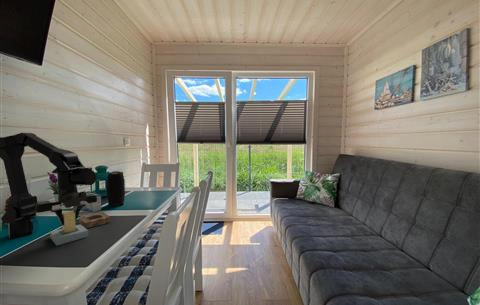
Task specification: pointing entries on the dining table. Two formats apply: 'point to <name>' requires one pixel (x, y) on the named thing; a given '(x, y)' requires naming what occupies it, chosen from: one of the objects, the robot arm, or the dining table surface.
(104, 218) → the walnut mount
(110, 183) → the portable speaker
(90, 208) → the medicine box
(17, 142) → the robot arm
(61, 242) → the socket block
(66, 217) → the brass pin
